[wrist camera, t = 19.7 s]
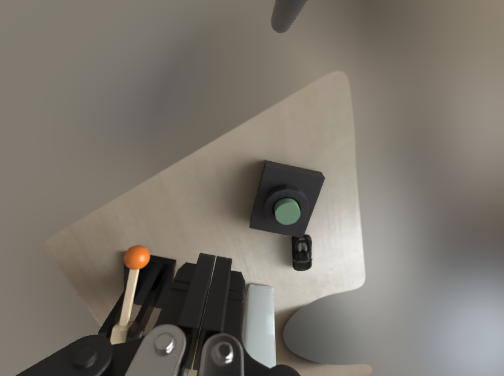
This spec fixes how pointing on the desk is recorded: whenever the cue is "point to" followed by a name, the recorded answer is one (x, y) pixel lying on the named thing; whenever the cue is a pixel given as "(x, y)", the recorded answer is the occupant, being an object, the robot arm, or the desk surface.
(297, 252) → the toy car
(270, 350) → the skincare box
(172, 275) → the switch bracket
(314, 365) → the desk surface
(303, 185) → the switch block
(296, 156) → the desk surface
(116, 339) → the switch lever
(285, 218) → the power button
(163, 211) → the desk surface
